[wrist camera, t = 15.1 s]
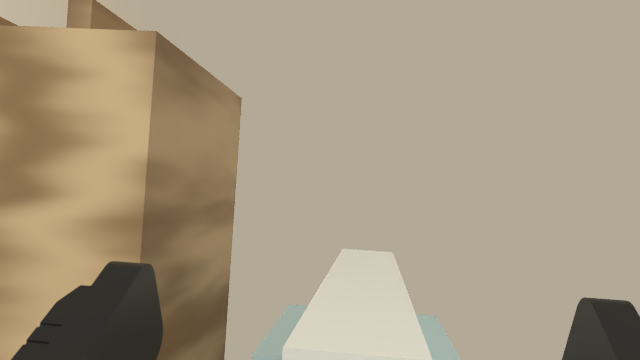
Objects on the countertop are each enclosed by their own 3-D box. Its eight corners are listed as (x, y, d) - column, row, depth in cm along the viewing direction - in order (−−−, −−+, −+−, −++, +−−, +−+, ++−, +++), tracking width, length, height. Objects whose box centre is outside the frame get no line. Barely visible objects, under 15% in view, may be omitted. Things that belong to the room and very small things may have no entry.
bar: (389, 302, 34) (392, 252, 34) (424, 515, 11) (432, 361, 11) (339, 298, 34) (342, 248, 34) (272, 497, 11) (282, 347, 11)
